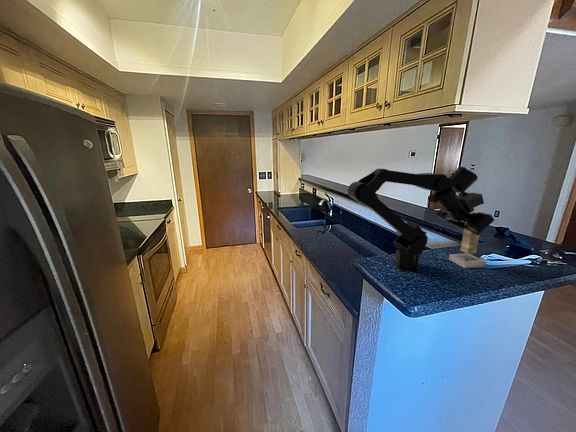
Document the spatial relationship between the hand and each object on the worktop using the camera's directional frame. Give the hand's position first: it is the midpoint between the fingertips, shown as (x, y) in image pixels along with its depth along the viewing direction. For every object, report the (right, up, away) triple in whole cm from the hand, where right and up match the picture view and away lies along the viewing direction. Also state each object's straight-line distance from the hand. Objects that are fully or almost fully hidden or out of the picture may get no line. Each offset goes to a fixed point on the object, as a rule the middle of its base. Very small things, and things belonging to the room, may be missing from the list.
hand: (475, 232), depth 84 cm
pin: (-1, -7, +2) cm, 7 cm away
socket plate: (-1, -11, +3) cm, 12 cm away
